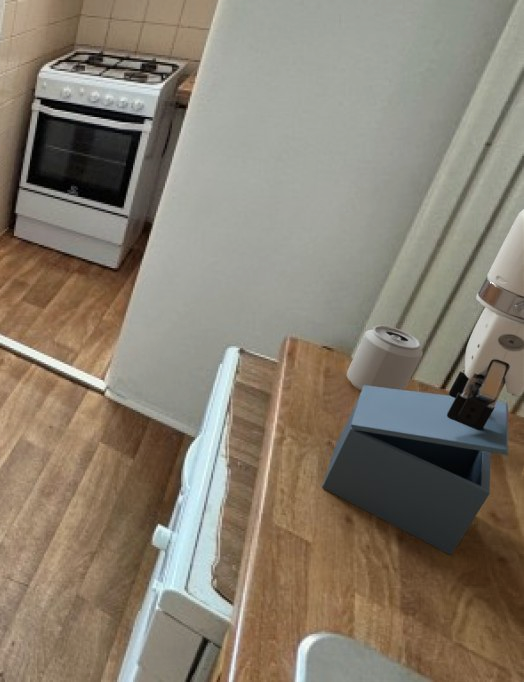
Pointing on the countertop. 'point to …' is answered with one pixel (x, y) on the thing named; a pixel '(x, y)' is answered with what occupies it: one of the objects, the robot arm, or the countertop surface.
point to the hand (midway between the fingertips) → (464, 410)
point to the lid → (427, 419)
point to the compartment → (411, 483)
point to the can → (385, 359)
